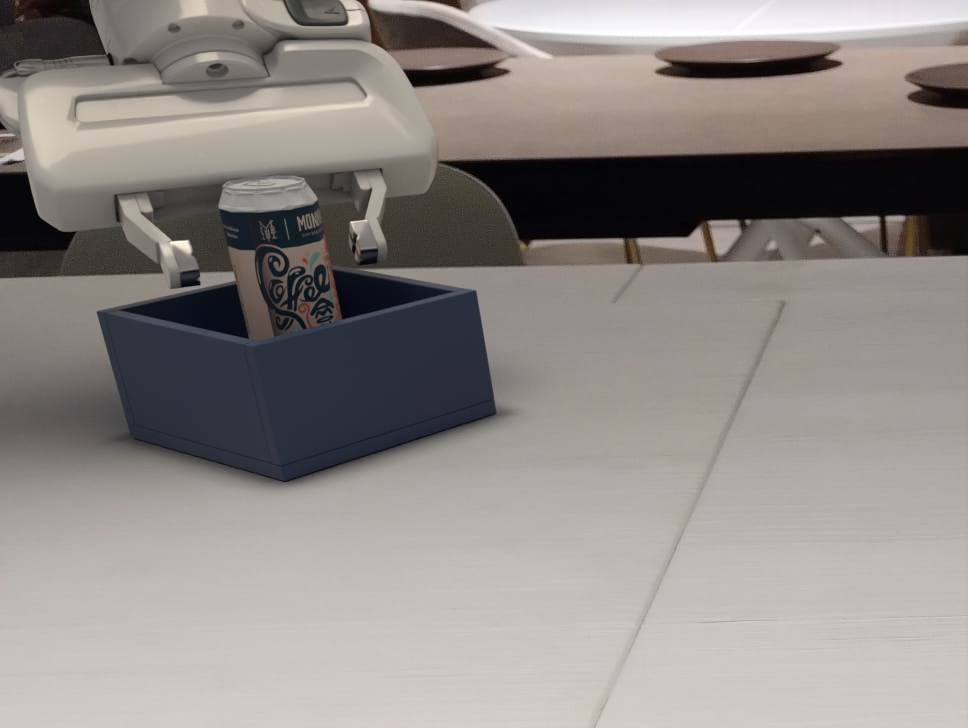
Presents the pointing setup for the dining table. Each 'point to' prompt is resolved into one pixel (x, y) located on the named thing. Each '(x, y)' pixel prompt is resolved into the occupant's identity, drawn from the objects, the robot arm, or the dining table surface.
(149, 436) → the bin
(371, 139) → the robot arm
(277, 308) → the coffee can
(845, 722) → the dining table surface
